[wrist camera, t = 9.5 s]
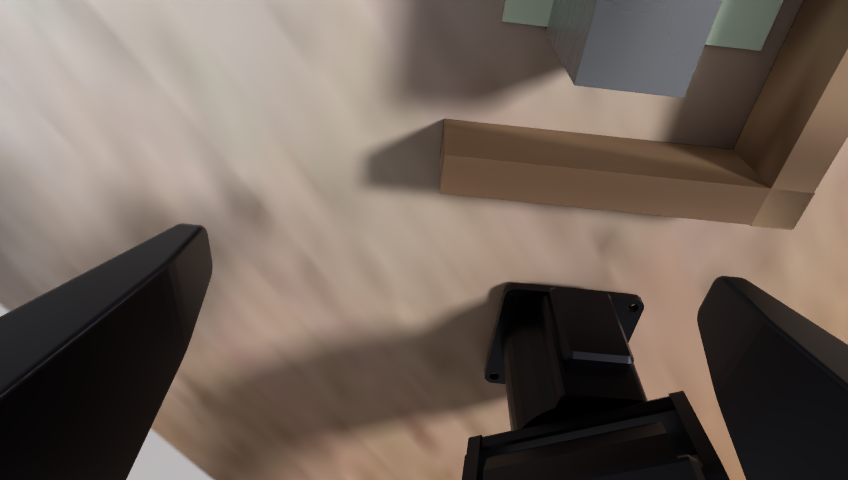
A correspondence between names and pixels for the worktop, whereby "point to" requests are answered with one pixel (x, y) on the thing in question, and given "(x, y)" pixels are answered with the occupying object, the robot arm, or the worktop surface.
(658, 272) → the worktop surface
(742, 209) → the wooden corner frame
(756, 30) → the pad
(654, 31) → the bracket
